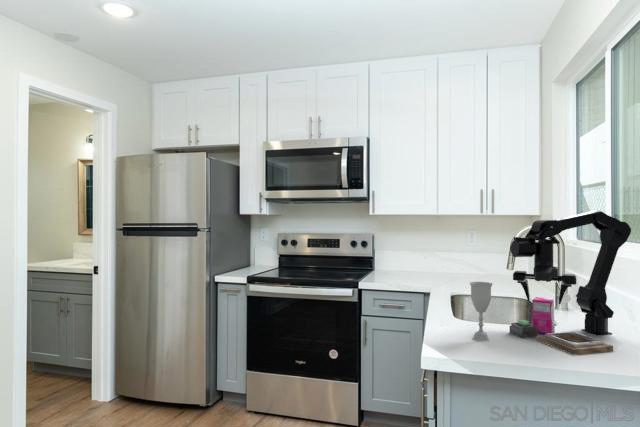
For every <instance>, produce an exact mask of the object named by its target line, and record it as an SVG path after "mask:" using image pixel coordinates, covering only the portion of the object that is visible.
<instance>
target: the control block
mask: <svg viewBox="0 0 640 427" xmlns="http://www.w3.org/2000/svg"><path fill="white" fill-rule="evenodd" d="M509 334H511V335H513V336H516V337H518V338H521V339H529V338H530V339H531V338H537V336H539V334H538V329H536V326H534V325H533V324H531V323H529V326H521V325H518V322H511V324H510V325H509Z"/></svg>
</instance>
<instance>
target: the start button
mask: <svg viewBox="0 0 640 427" xmlns="http://www.w3.org/2000/svg"><path fill="white" fill-rule="evenodd" d="M517 323H518V325H521V326H529V324H530V321H528V320H526V319H519V320H517Z"/></svg>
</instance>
